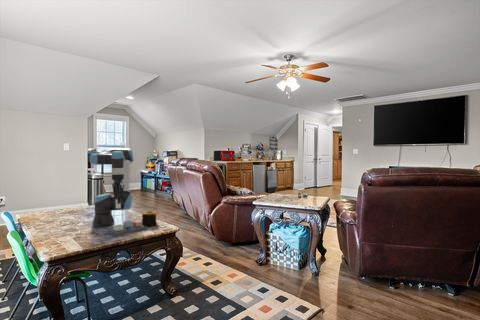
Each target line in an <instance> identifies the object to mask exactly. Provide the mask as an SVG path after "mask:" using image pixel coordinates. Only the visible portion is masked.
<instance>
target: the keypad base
mask: <svg viewBox="0 0 480 320" xmlns="http://www.w3.org/2000/svg"><path fill="white" fill-rule="evenodd" d="M147 229H148V227H147V226H144V225H141V226H138V227H135V226H130V228H129V229H127V227H126V226H123V230H120V231H115V230H114V228H112V229H108V233H109V234H111V235H112V236H116V237H120V236H124V235H128V234H133V233H136V232H140V231H145V230H147Z"/></svg>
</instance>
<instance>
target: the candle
mask: <svg viewBox="0 0 480 320" xmlns="http://www.w3.org/2000/svg"><path fill="white" fill-rule="evenodd" d="M141 217H142V220H141V221H142V225H144V226H147V228H151V227H153V228H154V227H156V226H157V210H148V211H147V210H144V211H142V213H141Z"/></svg>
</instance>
